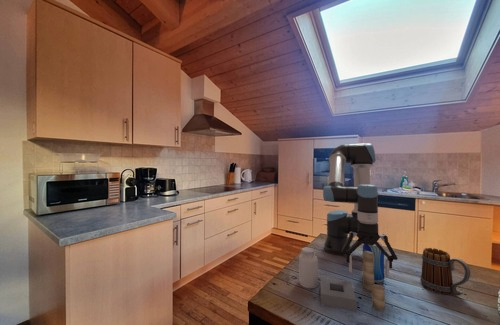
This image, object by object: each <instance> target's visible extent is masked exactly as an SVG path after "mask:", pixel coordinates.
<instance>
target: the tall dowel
mask: <svg viewBox="0 0 500 325" xmlns="http://www.w3.org/2000/svg"><path fill="white" fill-rule="evenodd" d="M372 285H375V282H374V254H373V253H372V252H369V251H363V250H362V287H363V288H362V289H363V290H364V291H366V292H368V293H372Z"/></svg>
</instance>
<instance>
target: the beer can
mask: <svg viewBox="0 0 500 325" xmlns="http://www.w3.org/2000/svg"><path fill="white" fill-rule="evenodd" d="M377 242H378V243H379V244H380V245H381V247H382V248H383V249H384V247H383V246H382V243H381V242H379V241H377ZM363 251H369V252H372V253H373V254H374V283H382V282H383V281H384V280H385V255H384V254H383V253H382V251H381V250H380V249H379V248H378V247H377V246H376V245H375V244H374V245H364V244H362V252H363Z"/></svg>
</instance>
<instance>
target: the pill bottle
mask: <svg viewBox="0 0 500 325" xmlns="http://www.w3.org/2000/svg"><path fill="white" fill-rule="evenodd" d="M318 263H319V260H318V257H317V256H316V255H315V249H314V248H312V247H308V246H306V247H302V248H301V254H299V256H298V277H299V278H298V281H299V284H300V286H302V287H304V288H306V289H315V288H317V287H318V284H319V276H318V275H319V269H318V268H319V264H318Z"/></svg>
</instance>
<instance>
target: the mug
mask: <svg viewBox="0 0 500 325" xmlns="http://www.w3.org/2000/svg"><path fill="white" fill-rule="evenodd" d="M421 256H422V257H421V259H422V262H421V263H422V264H421V275H420V283H421V285H422V286H423V287H424V288H426V289H427V290H429V291H431V292H433V293H434V292H435V293H437V294H440V295H451V294H454V295H456V296H462V295H463V294H464V291H462V290H457V287H460V286H461V285H464V284H466V283H468V282H469V280H470V277H471V268H470V266H469V265H468V264H467V262H466V261H464V260H463V259H460V258H457V257H454V258H451V255H450V254H449V253H448V252H447V251H444V250H443V249H438V248H434V247H433V248H432V247H428V248H427V247H425V248H423V251H422V255H421ZM455 262H456V263H458V264H460V265H461V266H462V267H463V270H464V275H463V277H462V279H461V280H460V281H458V282H455V283H454V282H453V275H452V274H453V271H455V270H457V268H456V267H455V265H454V263H455Z"/></svg>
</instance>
